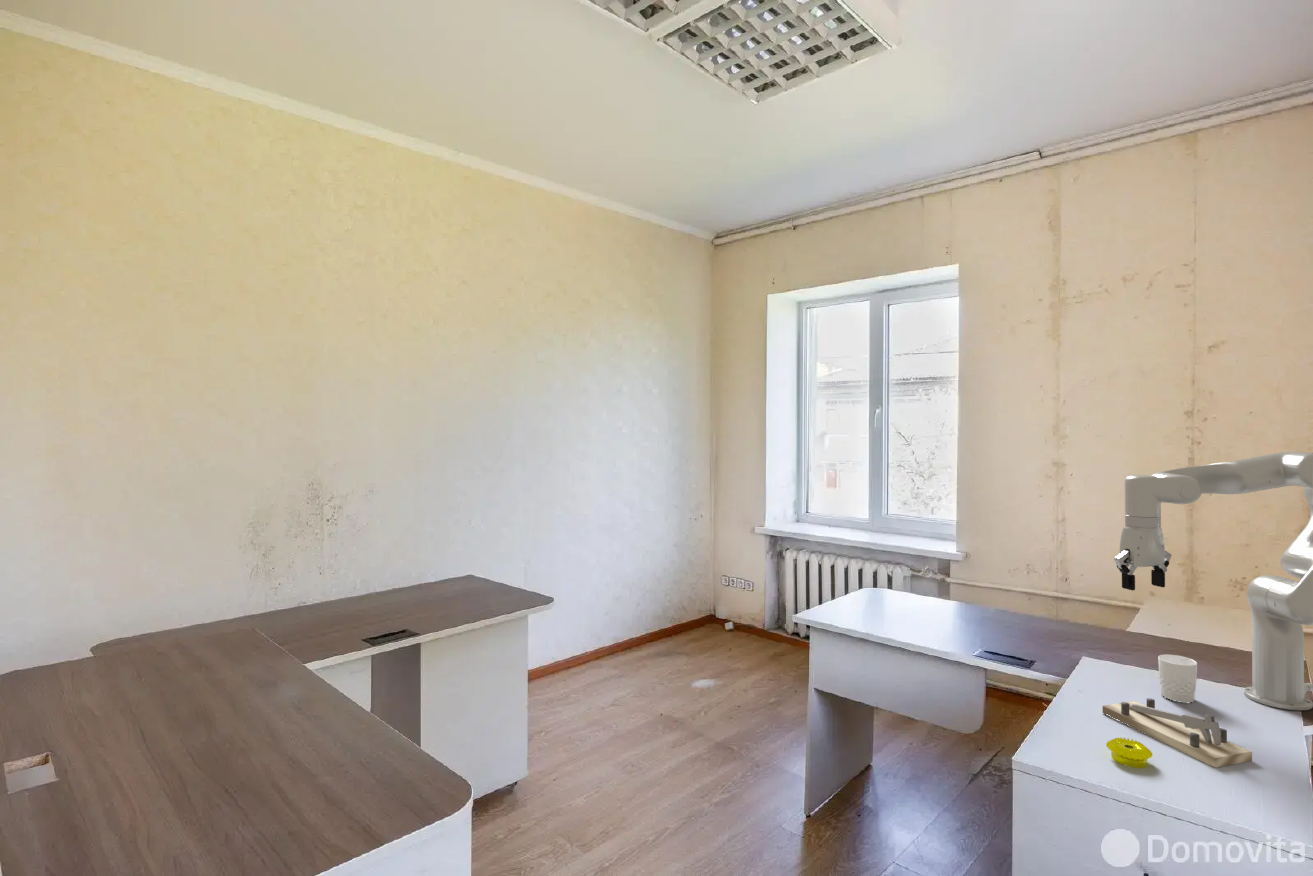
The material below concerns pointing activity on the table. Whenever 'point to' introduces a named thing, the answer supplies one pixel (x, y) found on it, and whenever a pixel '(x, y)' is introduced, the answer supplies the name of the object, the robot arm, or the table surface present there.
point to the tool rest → (1180, 735)
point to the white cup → (1177, 677)
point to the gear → (1129, 752)
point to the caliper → (1187, 722)
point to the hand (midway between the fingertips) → (1143, 587)
